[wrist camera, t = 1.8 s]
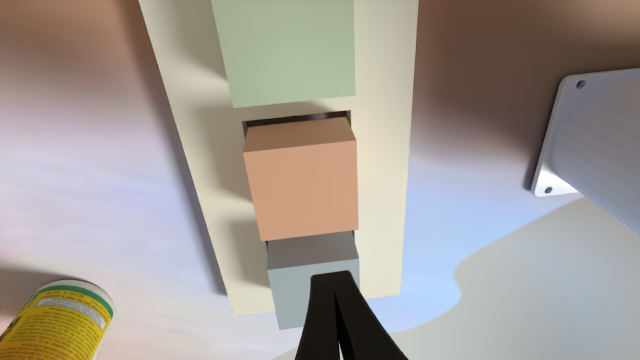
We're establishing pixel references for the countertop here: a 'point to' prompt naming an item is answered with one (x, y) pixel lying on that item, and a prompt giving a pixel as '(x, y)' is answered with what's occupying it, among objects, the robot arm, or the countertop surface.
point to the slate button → (306, 270)
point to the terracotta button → (303, 177)
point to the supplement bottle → (60, 323)
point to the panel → (231, 128)
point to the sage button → (286, 49)
